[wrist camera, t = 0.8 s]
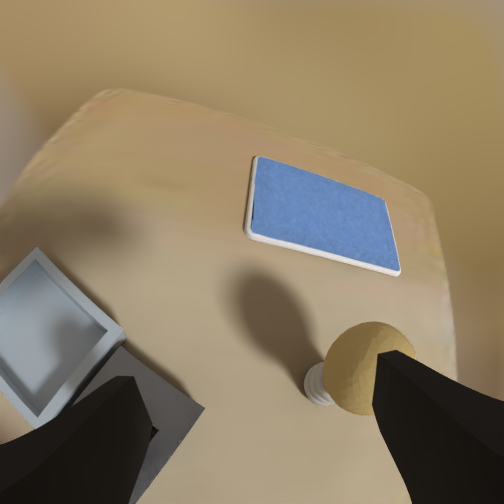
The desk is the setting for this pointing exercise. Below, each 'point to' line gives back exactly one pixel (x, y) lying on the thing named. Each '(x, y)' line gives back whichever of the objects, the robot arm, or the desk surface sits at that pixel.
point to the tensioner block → (152, 412)
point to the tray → (49, 339)
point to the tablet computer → (319, 217)
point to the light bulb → (353, 367)
